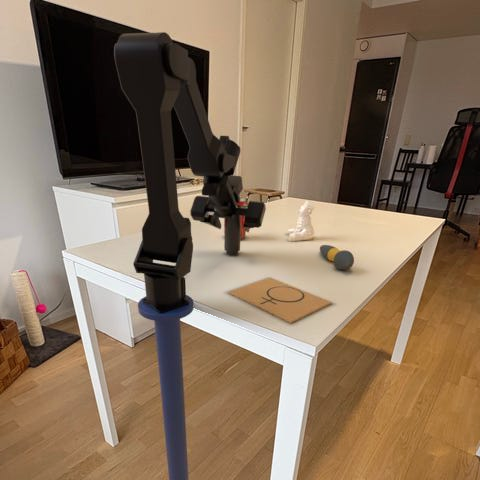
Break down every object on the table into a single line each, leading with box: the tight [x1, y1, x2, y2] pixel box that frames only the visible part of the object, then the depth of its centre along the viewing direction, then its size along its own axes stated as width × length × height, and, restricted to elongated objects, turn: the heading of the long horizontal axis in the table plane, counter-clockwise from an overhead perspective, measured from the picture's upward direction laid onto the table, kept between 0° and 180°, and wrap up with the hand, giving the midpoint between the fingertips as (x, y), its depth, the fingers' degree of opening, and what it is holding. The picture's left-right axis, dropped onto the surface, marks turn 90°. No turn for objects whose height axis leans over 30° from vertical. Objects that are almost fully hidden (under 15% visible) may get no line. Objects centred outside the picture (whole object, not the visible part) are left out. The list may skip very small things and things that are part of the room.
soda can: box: [223, 197, 248, 240], centre depth 108 cm, size 7×7×12 cm
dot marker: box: [223, 215, 241, 257], centre depth 93 cm, size 4×4×13 cm
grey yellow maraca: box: [319, 244, 355, 271], centre depth 92 cm, size 20×5×5 cm, turn 14°
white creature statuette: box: [287, 200, 316, 242], centre depth 111 cm, size 10×9×12 cm
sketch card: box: [228, 277, 332, 324], centre depth 71 cm, size 13×17×1 cm
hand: (234, 229), depth 94 cm, fingers open, 8 cm apart
